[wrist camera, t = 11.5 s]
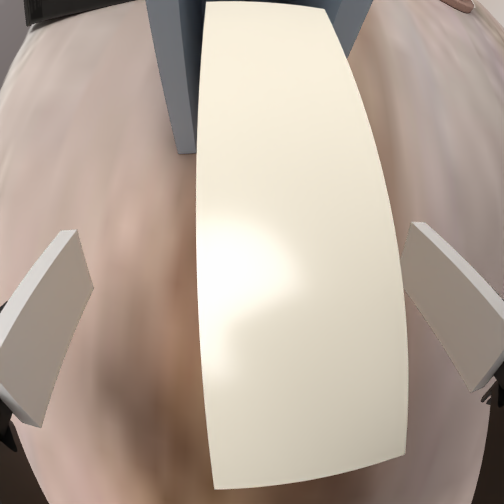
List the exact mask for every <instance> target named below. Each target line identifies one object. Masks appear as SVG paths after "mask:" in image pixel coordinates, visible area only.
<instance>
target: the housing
mask: <svg viewBox="0 0 504 504" xmlns="http://www.w3.org/2000/svg"><path fill="white" fill-rule="evenodd" d="M216 1H246V2H268V3H281V4H291V5H300V6H307V7H314V8H321V9H325V11H326V13H327V15H328V17H329V20H330V22H331V24H332V26H333V28H334V30H335V33H336V35H337V37H338V40H339V42H340V44H341V47H342V49H343V51H344V54H345V56H346V59H347V58H348V55H349V53H350V51H351V49H352V47H353V44H354V42H355V40H356V38H357V35H358V33H359V31H360V29H361V26H362V24H363V22H364V20H365V17H366V15H367V13H368V11H369V8H370V6H371V4H372V2H373V0H146V5H147V11H148V17H149V22H150V28H151V33H152V38H153V43H154V48H155V53H156V58H157V63H158V68H159V73H160V77H161V82H162V86H163V91H164V96H165V100H166V104H167V109H168V113H169V117H170V122H171V126H172V130H173V134H174V139H175V143H176V147H177V151H178V154H187V153H196V151H197V121H198V99H199V81H200V66H201V52H202V41H203V30H204V19H205V9H206V2H216Z"/></svg>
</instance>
